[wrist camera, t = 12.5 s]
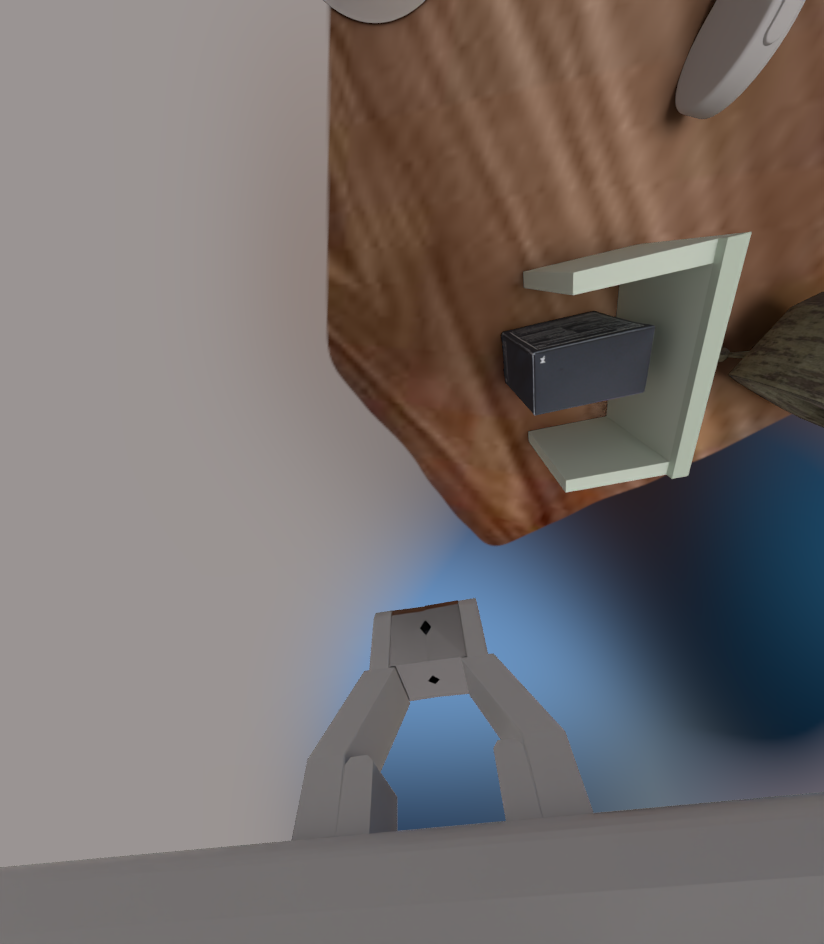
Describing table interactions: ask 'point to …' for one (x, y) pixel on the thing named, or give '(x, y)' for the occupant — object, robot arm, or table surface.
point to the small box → (577, 360)
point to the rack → (671, 363)
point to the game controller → (731, 52)
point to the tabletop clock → (788, 362)
